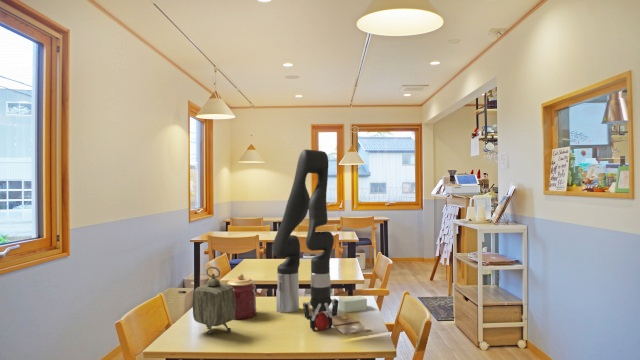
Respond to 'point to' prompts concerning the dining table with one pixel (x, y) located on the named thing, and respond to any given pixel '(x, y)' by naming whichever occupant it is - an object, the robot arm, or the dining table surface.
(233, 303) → the tabletop clock
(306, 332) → the dining table surface
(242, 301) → the canister
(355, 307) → the block
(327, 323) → the onion
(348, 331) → the board
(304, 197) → the robot arm
